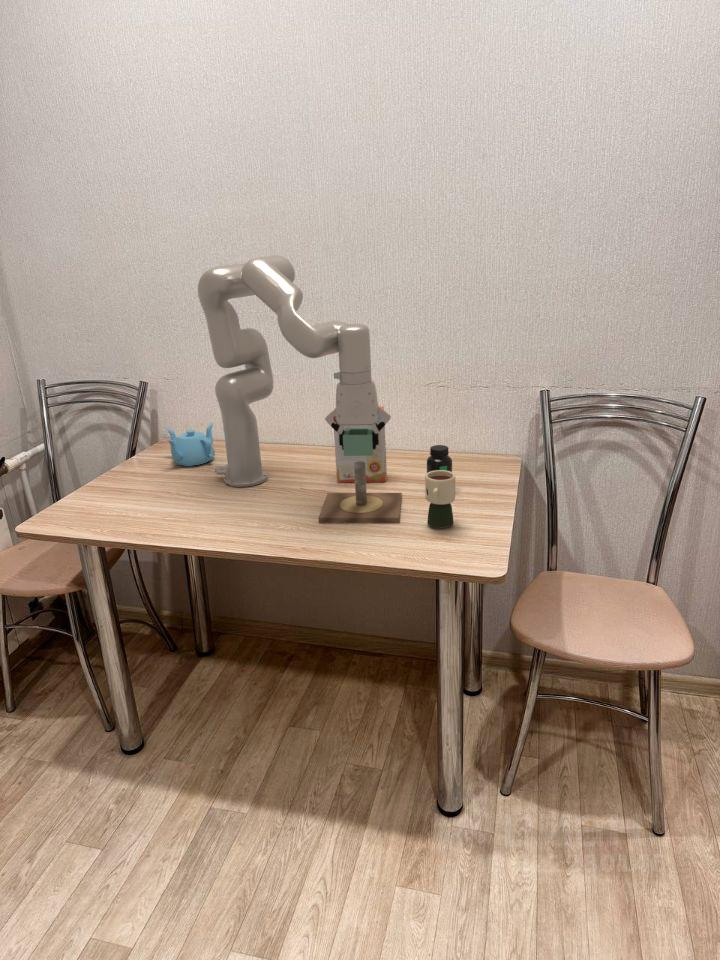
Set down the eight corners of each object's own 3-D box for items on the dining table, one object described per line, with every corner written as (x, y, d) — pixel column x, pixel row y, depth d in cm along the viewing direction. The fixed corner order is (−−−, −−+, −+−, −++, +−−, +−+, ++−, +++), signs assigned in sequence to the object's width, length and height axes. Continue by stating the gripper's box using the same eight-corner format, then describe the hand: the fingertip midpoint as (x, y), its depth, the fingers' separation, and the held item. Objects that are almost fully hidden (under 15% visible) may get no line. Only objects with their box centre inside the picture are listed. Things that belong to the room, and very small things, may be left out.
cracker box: (387, 475, 201) (384, 405, 193) (385, 482, 195) (383, 411, 188) (339, 475, 202) (335, 406, 195) (336, 483, 197) (332, 412, 189)
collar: (343, 455, 169) (342, 436, 167) (347, 446, 176) (346, 428, 174) (372, 455, 168) (371, 435, 167) (374, 446, 175) (373, 427, 173)
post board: (318, 523, 172) (315, 475, 167) (327, 498, 187) (324, 453, 182) (399, 523, 170) (398, 474, 165) (401, 497, 184) (400, 452, 180)
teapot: (217, 466, 214) (214, 434, 211) (168, 471, 212) (163, 439, 208) (217, 452, 228) (213, 422, 224) (170, 456, 225) (165, 426, 221)
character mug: (431, 514, 174) (431, 466, 169) (459, 517, 171) (460, 468, 166) (420, 532, 164) (419, 482, 159) (449, 536, 162) (449, 484, 157)
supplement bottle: (449, 495, 185) (449, 452, 181) (424, 492, 187) (423, 450, 183) (454, 485, 191) (454, 444, 186) (430, 483, 193) (429, 442, 189)
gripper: (317, 381, 163) (322, 453, 169) (391, 379, 161) (393, 452, 167) (322, 374, 170) (326, 443, 176) (392, 372, 168) (395, 442, 174)
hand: (359, 447), depth 172 cm, fingers closed on collar, 7 cm apart
